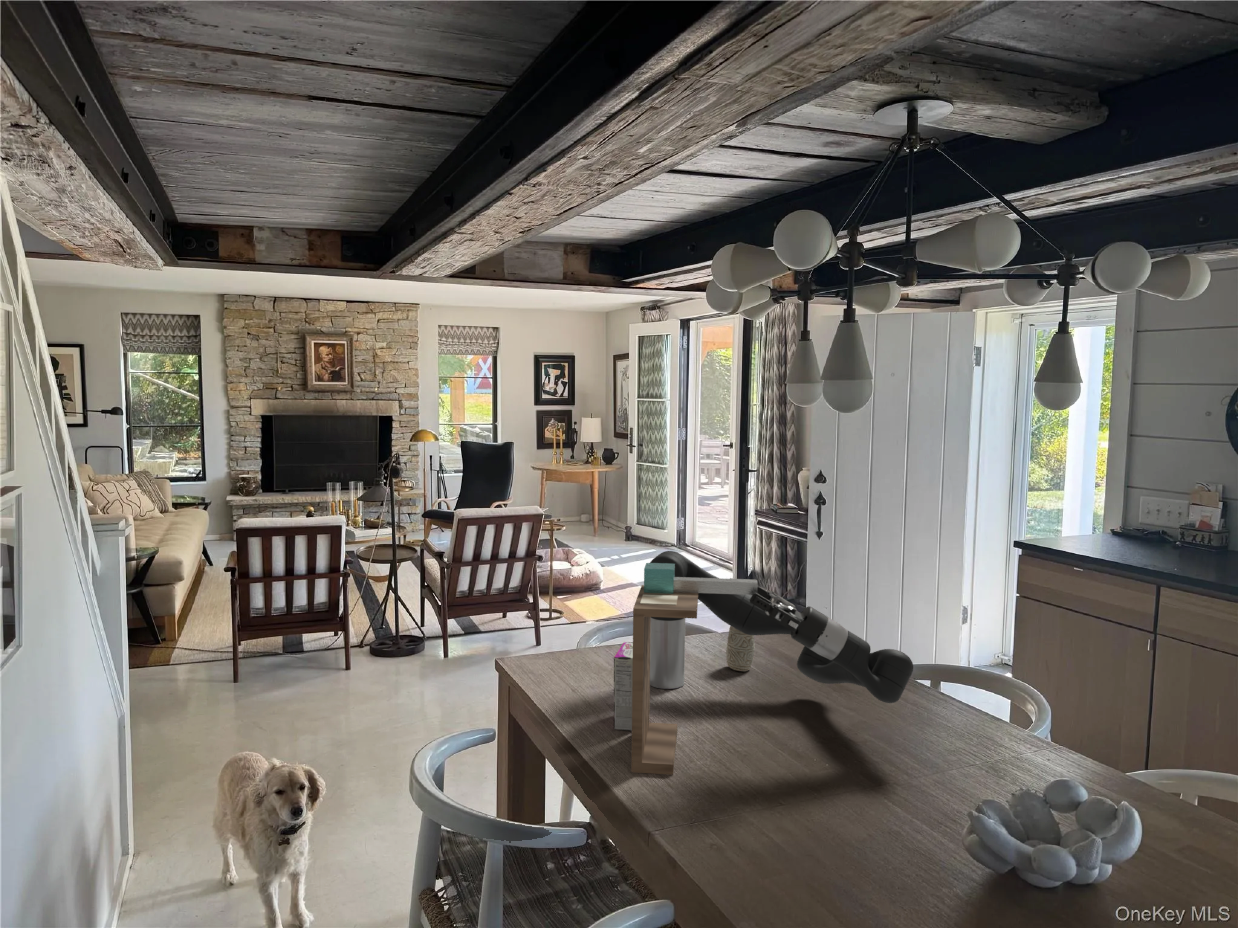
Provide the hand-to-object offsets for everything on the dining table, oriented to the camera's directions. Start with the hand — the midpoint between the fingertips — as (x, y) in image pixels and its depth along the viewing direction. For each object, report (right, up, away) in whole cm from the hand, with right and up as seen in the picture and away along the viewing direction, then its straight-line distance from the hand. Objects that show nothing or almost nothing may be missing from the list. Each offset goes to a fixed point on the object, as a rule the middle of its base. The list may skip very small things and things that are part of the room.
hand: (750, 591), depth 170 cm
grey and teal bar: (-10, 0, +1) cm, 10 cm away
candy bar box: (-25, -31, +14) cm, 42 cm away
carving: (+5, -29, +51) cm, 59 cm away
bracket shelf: (-18, -32, -2) cm, 37 cm away
